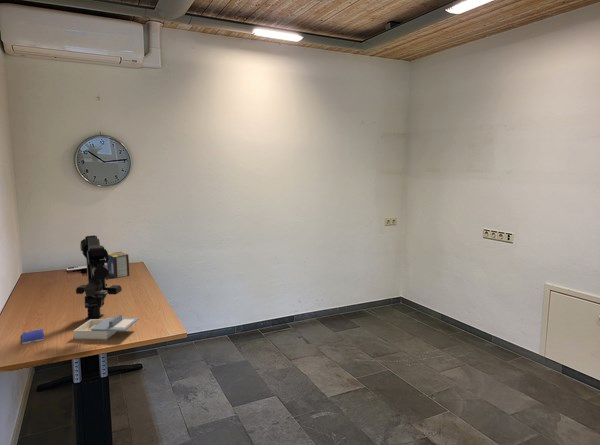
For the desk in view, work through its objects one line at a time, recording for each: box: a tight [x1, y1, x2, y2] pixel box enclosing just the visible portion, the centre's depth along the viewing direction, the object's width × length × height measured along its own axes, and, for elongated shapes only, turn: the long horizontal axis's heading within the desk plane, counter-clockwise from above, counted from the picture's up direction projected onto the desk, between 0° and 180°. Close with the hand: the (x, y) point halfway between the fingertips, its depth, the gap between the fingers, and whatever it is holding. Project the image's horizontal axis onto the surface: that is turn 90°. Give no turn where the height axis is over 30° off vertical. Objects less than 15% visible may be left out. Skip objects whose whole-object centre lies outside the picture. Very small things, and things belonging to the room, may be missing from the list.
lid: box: [91, 314, 140, 332], centre depth 188 cm, size 14×15×3 cm
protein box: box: [106, 251, 131, 279], centre depth 294 cm, size 10×15×16 cm
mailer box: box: [73, 318, 118, 341], centre depth 189 cm, size 14×15×4 cm
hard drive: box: [21, 328, 45, 345], centre depth 184 cm, size 2×8×12 cm
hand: (100, 307), depth 188 cm, fingers closed
